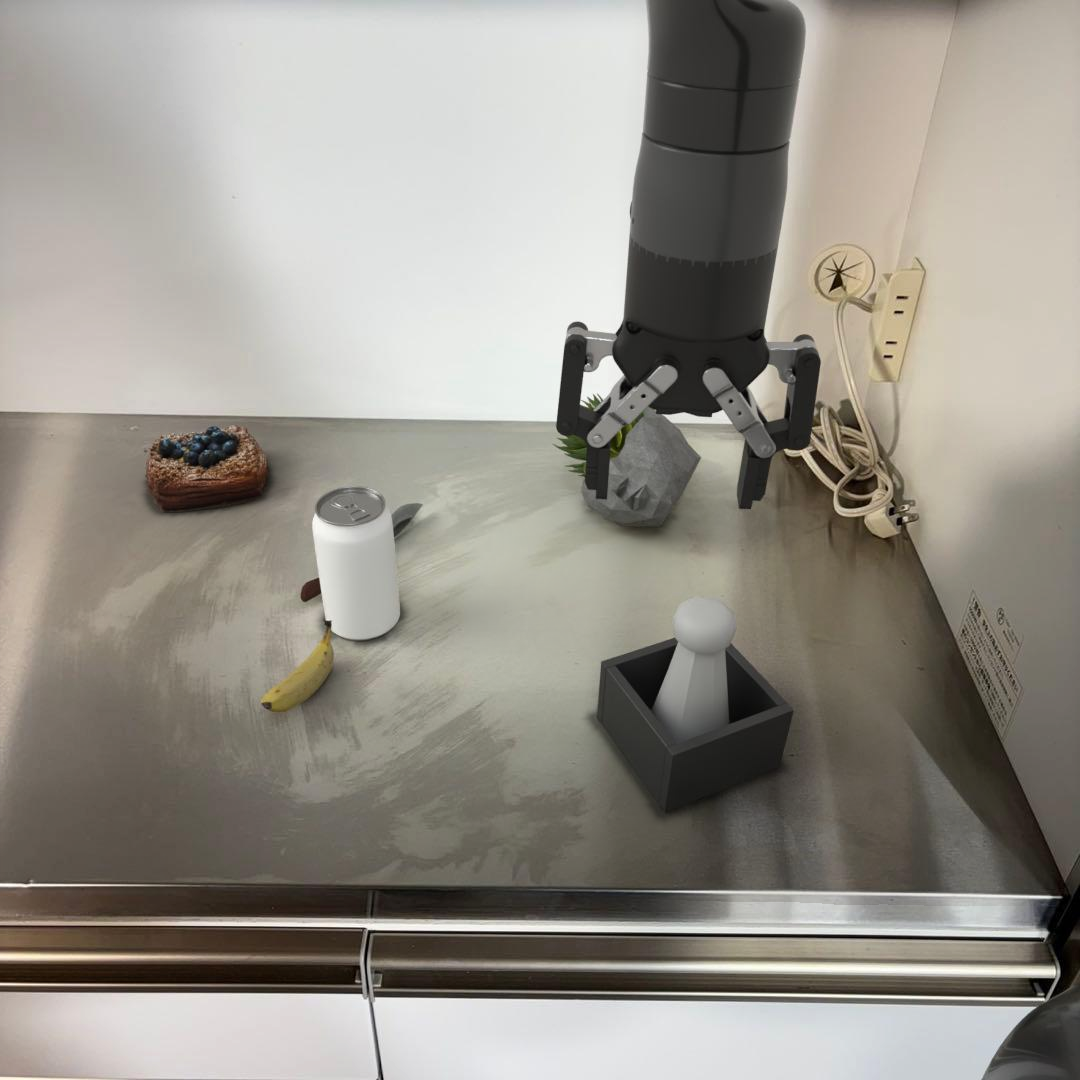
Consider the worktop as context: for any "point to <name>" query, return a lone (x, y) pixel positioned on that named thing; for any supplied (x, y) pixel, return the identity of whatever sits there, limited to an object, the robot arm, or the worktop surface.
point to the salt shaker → (697, 670)
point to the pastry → (206, 469)
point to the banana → (302, 678)
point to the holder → (706, 757)
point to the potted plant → (639, 469)
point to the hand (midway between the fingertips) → (672, 497)
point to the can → (356, 562)
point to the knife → (399, 522)
